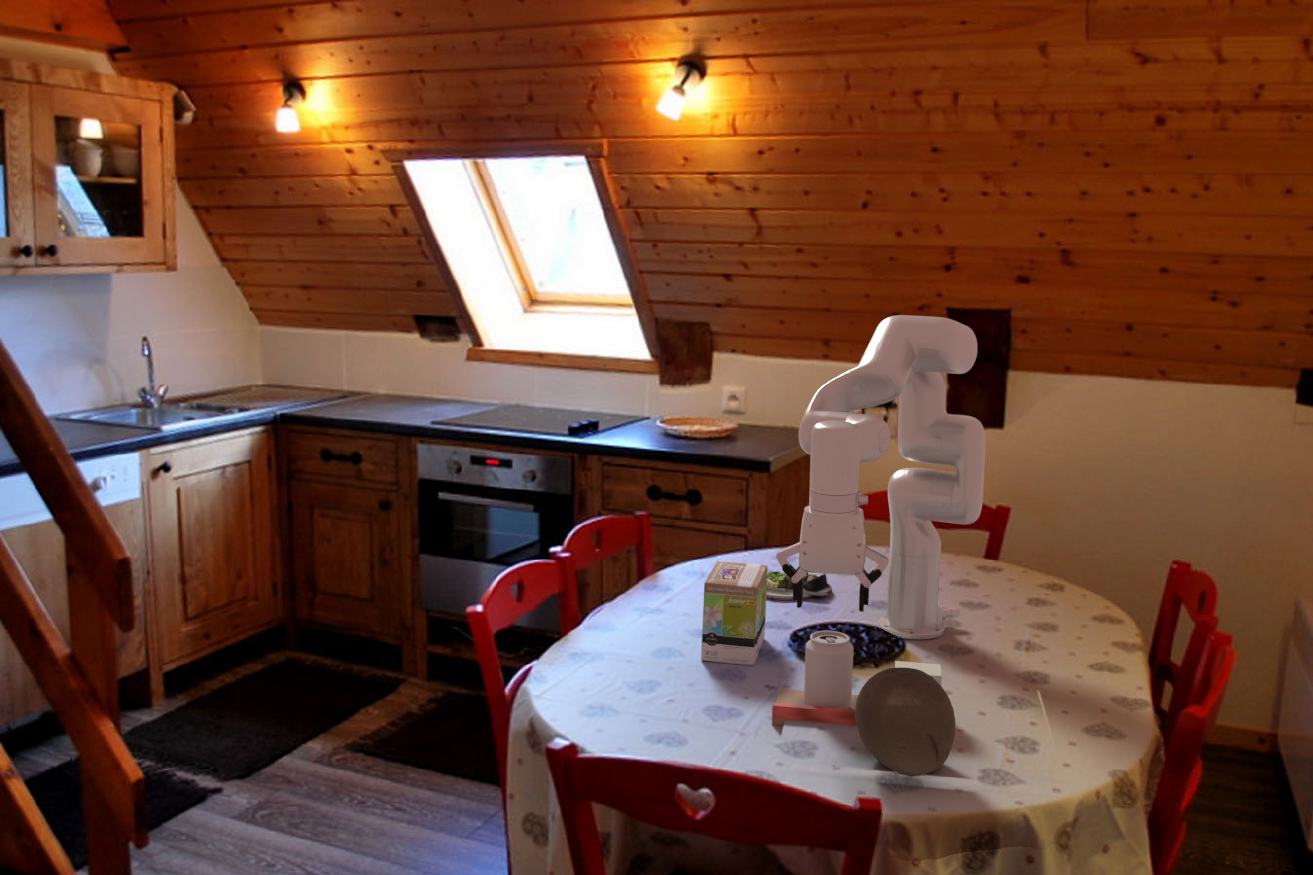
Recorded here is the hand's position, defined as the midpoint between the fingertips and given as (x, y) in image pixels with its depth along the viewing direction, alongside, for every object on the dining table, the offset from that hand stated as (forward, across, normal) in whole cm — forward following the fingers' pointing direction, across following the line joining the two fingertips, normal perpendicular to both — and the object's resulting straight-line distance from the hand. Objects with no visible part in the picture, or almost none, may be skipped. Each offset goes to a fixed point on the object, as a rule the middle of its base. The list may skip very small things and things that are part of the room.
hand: (830, 606), depth 192 cm
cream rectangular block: (+17, -14, +1) cm, 22 cm away
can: (+17, 0, +1) cm, 17 cm away
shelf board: (+18, -5, 0) cm, 19 cm away
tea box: (+19, +18, -26) cm, 37 cm away
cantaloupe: (+18, -12, +18) cm, 28 cm away
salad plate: (+20, +11, -64) cm, 68 cm away
